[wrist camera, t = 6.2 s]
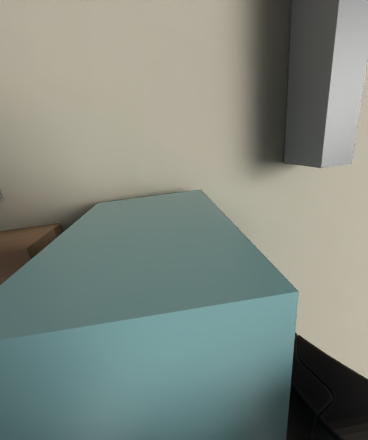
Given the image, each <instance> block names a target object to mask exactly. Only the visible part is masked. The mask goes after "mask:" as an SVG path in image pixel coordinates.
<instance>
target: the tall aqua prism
mask: <svg viewBox="0 0 368 440" xmlns="http://www.w3.org/2000/svg"><path fill="white" fill-rule="evenodd" d="M298 293H299V291H298V290H297V289H296V288H295V287H294V286H293V285H292V284H291V283H290V282H289V281H288V280H287V279H286V278H285V277H284V276H283V275H282V274H281V273H280V272H279V271H278V269H277V268H276V267H275V266H274V265H273V264H272V263H271V262H270V261H269V260H268V259H267V258H266V257H265V256H264V255H263V254H262V253H261V252H260V251H259V250H258V249H257V248H256V246H255V245H254V244H253V243H252V242H251V241H250V240H249V239H248V238H247V237H246V236H245V235H244V234H243V233H242V232H241V231H240V230H239V229H238V228H237V227H236V226H235V225H234V224H233V222H232V221H231V220H230V219H229V218H228V217H227V216H226V215H225V214H224V213H223V212H222V211H221V210H220V209H219V208H218V207H217V206H216V205H215V204H214V203H213V202H212V201H211V199H210V198H209V197H208V196H207V195H206V194H205V193H204V192H203V191H202V190H194V191H186V192H179V193H171V194H163V195H156V196H148V197H140V198H133V199H125V200H118V201H110V202H102V203H97V204H96V205H95V206H94V207H93V208H91V209H90V210H89V211H88V212H87V213H85V214H84V215H83V216H82V217H81V218H79V219H78V220H77V221H76V222H75V223H74V224H72V225H71V226H70V227H69V228H68V229H66V230H65V231H64V232H63V233H62V234H61V235H59V236H58V237H57V238H56V239H55V240H53V241H52V242H51V243H50V244H49V245H48V246H46V247H45V248H44V249H43V250H42V251H40V252H39V253H38V254H37V255H36V256H35V257H33V258H32V259H31V260H30V261H29V262H27V263H26V264H25V265H24V266H23V267H21V268H20V269H19V270H18V271H17V272H16V273H14V274H13V275H12V276H11V277H10V278H8V279H7V280H6V281H5V282H4V283H3V284H1V285H0V440H286V434H287V422H288V410H289V399H290V387H291V375H292V363H293V352H294V340H295V328H296V316H297V305H298Z"/></svg>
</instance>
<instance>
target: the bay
mask: <svg viewBox="0 0 368 440" xmlns="http://www.w3.org/2000/svg"><path fill="white" fill-rule="evenodd" d="M367 63H368V0H292V10H291V30H290V50H289V70H288V91H287V111H286V131H285V151H284V163H287V164H295V165H303V166H310V167H318V168H324V167H332V166H340V165H348V164H352V159H353V153H354V146H355V140H356V134H357V127H358V121H359V114H360V108H361V102H362V95H363V89H364V82H365V76H366V70H367ZM0 199H3V197H2V194H1V192H0Z"/></svg>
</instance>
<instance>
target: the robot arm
mask: <svg viewBox="0 0 368 440" xmlns="http://www.w3.org/2000/svg"><path fill="white" fill-rule="evenodd" d="M286 440H368V379H366V378H365V377H363V376H361V375H360V374H358V373H357V372H355V371H353V370H352V369H350V368H348V367H347V366H345V365H343V364H342V363H340V362H339V361H337V360H335V359H334V358H332V357H331V356H329V355H327V354H326V353H324V352H323V351H321V350H320V349H318V348H317V347H316V346H314V345H313V344H311V343H310V342H308V341H307V340H305V339H304V338H303V337H301V336H300V335H298V336H297V333H295V340H294V352H293V363H292V375H291V387H290V399H289V410H288V422H287V434H286Z"/></svg>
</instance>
